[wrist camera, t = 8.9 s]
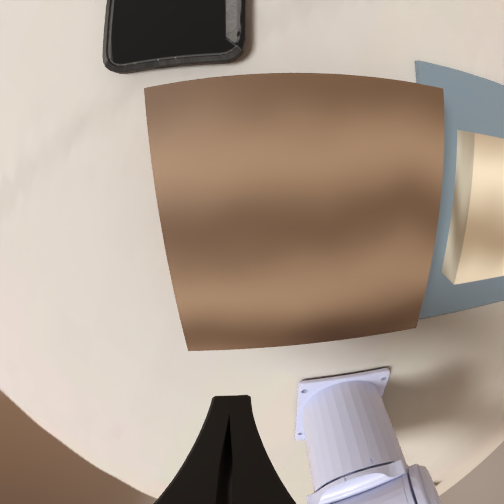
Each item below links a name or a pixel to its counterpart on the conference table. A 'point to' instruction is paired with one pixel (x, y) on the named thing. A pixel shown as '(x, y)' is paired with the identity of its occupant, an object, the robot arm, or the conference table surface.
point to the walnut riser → (296, 204)
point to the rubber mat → (465, 119)
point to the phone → (171, 33)
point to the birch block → (476, 211)
